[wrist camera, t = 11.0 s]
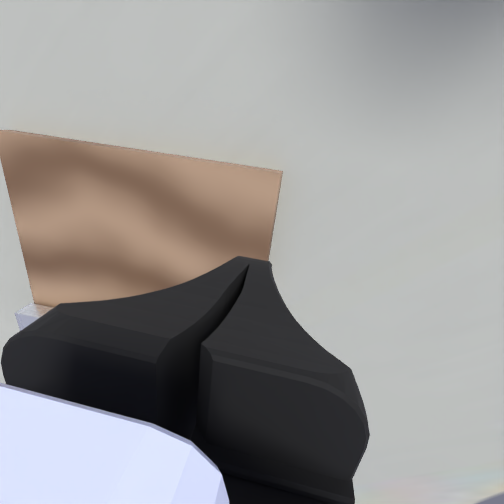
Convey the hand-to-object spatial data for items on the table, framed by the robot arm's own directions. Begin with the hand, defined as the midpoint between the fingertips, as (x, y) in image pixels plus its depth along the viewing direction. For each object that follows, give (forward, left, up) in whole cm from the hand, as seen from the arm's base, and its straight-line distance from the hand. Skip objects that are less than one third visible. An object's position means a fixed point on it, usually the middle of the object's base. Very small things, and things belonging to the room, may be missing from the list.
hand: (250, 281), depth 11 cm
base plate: (-7, +10, -9) cm, 15 cm away
